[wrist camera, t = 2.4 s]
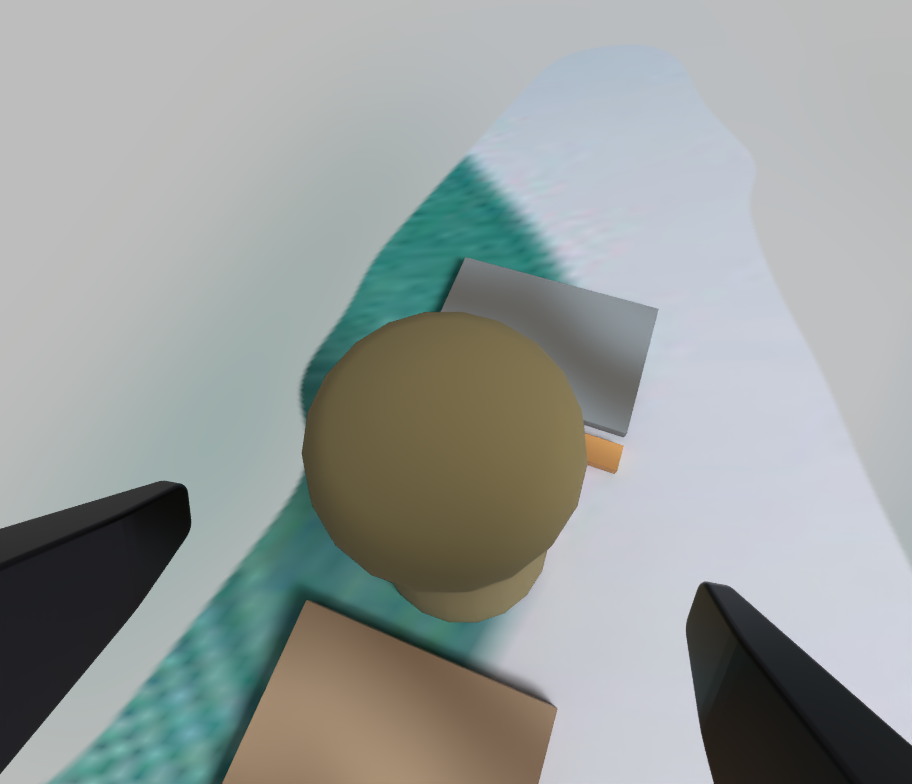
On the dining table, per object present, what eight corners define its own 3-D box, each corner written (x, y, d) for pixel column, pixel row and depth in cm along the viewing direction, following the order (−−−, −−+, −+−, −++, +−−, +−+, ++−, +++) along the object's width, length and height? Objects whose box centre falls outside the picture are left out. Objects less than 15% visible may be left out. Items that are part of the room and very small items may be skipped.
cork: (344, 529, 18) (174, 413, 8) (463, 417, 20) (443, 206, 10) (462, 666, 16) (428, 734, 6) (584, 529, 18) (715, 408, 8)
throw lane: (329, 1583, 10) (320, 1639, 9) (-6, 1298, 11) (-30, 1331, 11) (655, 314, 21) (660, 306, 21) (465, 263, 23) (465, 254, 22)
